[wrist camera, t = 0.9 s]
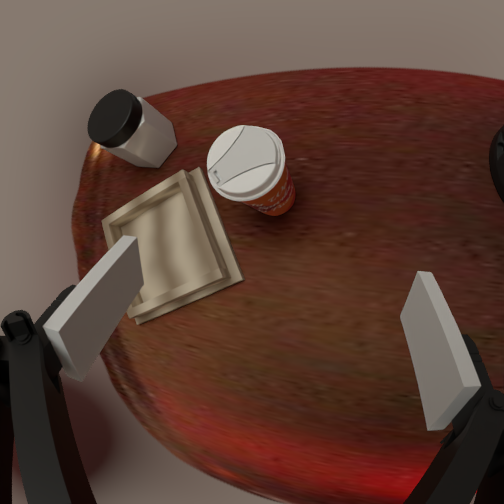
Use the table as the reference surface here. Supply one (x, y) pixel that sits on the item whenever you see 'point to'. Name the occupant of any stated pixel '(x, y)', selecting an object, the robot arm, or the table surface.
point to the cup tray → (175, 244)
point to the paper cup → (251, 169)
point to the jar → (131, 129)
